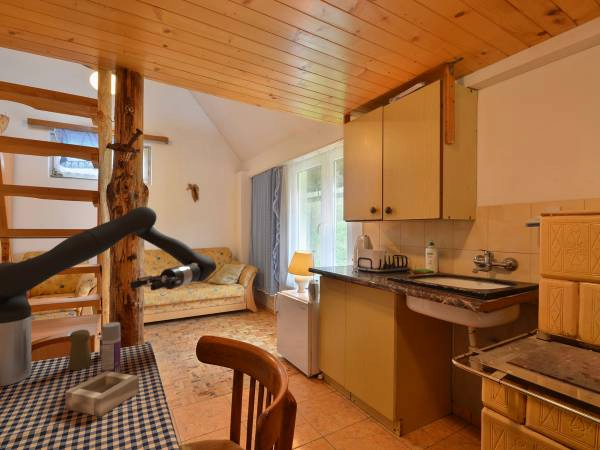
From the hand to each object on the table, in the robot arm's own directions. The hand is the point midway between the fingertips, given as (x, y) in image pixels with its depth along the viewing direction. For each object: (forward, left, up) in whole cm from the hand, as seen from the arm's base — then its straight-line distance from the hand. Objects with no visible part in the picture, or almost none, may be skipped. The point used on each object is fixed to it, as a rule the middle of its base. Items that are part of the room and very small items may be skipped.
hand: (141, 286), depth 98 cm
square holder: (+8, -20, -24) cm, 33 cm away
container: (-1, -10, -24) cm, 26 cm away
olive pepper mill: (-16, -8, -24) cm, 30 cm away
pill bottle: (-15, +1, -25) cm, 29 cm away
